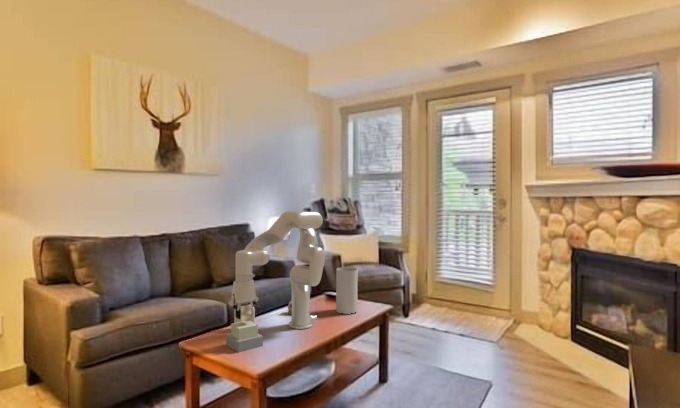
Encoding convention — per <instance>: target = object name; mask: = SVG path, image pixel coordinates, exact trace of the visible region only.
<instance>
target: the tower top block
mask: <svg viewBox="0 0 680 408" xmlns="http://www.w3.org/2000/svg"><path fill="white" fill-rule="evenodd" d="M230 334H231V335H233V336H234V337H236V338H237V339H238V340H242V339H246V338H251V337H256V336H258V334H259V326H258V323H257V324H256V322H255V323H253V322H252V321H246V322H237V323H234V322H233V323H230Z"/></svg>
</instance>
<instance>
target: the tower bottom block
mask: <svg viewBox="0 0 680 408" xmlns="http://www.w3.org/2000/svg"><path fill="white" fill-rule="evenodd" d="M226 346H229V347H230V348H231V349H233V350H234V351H236V352H237V353H242V352H246V351H250V350H254V349H257V348H258V349H259V348H261V347H263V346H264V336H263V335H262V334H260V333H258V336H256V337H251V338H246V339H242V340H238V339H237V338H236V337H234V336H233V335H231V333H227V334H226Z"/></svg>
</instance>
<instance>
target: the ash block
mask: <svg viewBox="0 0 680 408" xmlns="http://www.w3.org/2000/svg"><path fill="white" fill-rule="evenodd" d="M236 320H238V321H240V322H246V321H251V320H252V305H250V304H248V303H242V304H241V305H240V319H237V318H236Z"/></svg>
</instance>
